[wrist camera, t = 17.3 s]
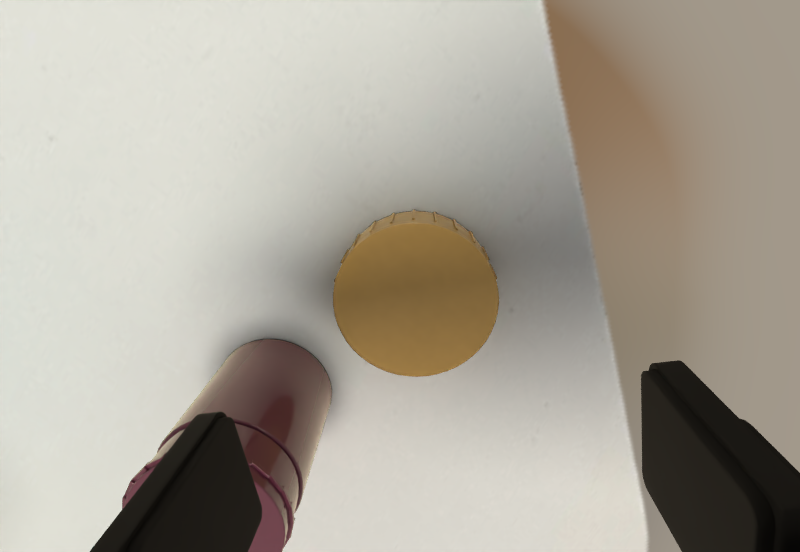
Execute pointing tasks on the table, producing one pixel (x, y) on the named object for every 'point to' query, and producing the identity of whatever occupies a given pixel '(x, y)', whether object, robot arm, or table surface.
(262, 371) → the cream jar
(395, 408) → the table surface
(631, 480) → the table surface
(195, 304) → the table surface
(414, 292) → the jar lid
